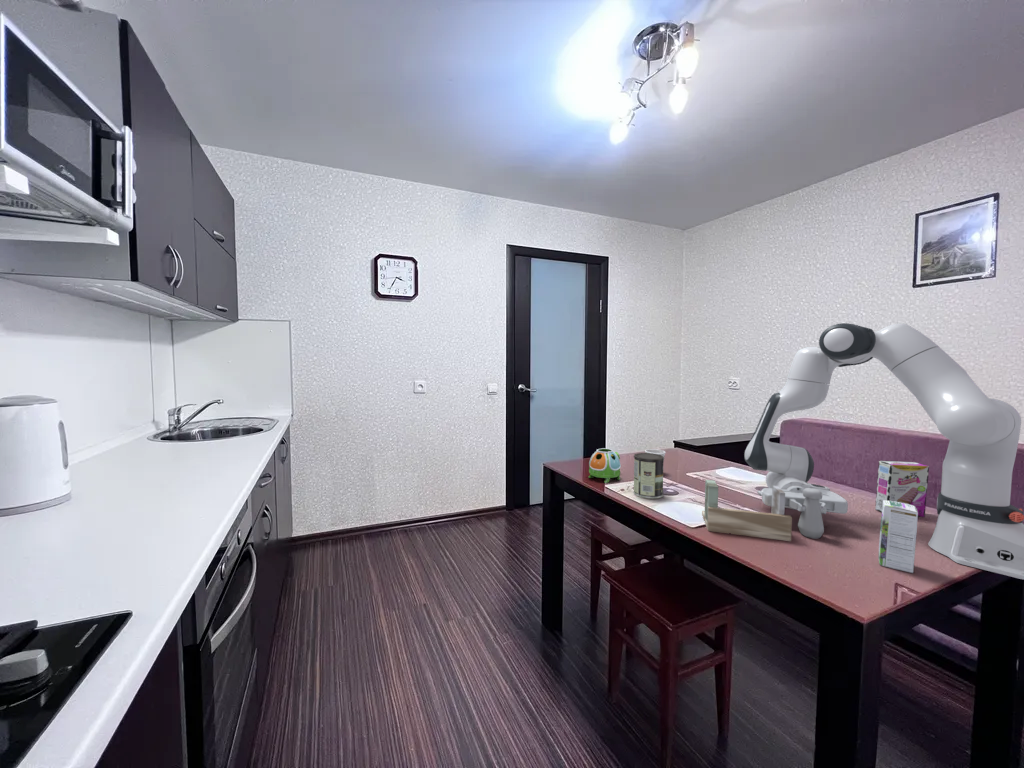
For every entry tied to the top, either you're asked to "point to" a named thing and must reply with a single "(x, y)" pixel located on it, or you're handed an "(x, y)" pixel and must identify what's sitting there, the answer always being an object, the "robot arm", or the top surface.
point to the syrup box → (898, 535)
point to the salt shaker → (811, 514)
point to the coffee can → (648, 475)
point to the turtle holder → (605, 464)
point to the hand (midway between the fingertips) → (813, 509)
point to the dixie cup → (656, 452)
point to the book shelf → (747, 517)
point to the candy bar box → (902, 484)
